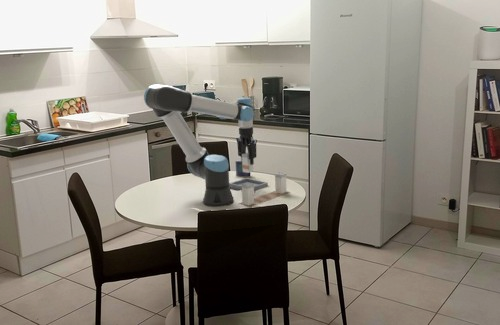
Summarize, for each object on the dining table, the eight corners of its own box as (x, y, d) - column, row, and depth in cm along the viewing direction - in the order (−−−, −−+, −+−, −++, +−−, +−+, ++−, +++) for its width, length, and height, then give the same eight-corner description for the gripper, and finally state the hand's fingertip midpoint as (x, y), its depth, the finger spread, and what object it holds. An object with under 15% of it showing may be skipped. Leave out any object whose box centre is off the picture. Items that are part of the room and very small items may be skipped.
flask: (235, 175, 301) (234, 158, 299) (237, 174, 304) (236, 157, 302) (249, 176, 298) (248, 159, 295) (251, 175, 300) (250, 158, 298)
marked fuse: (248, 173, 271) (247, 154, 269) (242, 171, 274) (241, 153, 272) (253, 171, 274) (252, 153, 272) (248, 170, 277) (247, 152, 275)
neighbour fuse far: (281, 193, 259) (281, 175, 257) (275, 192, 262) (274, 173, 260) (286, 192, 262) (286, 173, 260) (280, 190, 265) (280, 172, 263)
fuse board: (250, 208, 241) (249, 206, 241) (238, 205, 246) (238, 203, 246) (290, 193, 261) (290, 192, 261) (279, 191, 267) (279, 189, 267)
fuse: (248, 205, 243) (247, 185, 240) (242, 203, 246) (241, 184, 243) (254, 203, 246) (253, 183, 243) (248, 201, 248) (247, 182, 246)
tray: (249, 192, 266) (249, 188, 265) (228, 187, 277) (228, 183, 276) (267, 186, 275) (267, 182, 275) (246, 182, 286) (246, 177, 286)
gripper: (262, 127, 265) (264, 170, 270) (239, 124, 277) (241, 166, 282) (252, 129, 260) (254, 173, 265) (229, 126, 272) (231, 168, 277)
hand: (247, 169), depth 274 cm, fingers closed on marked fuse, 4 cm apart
